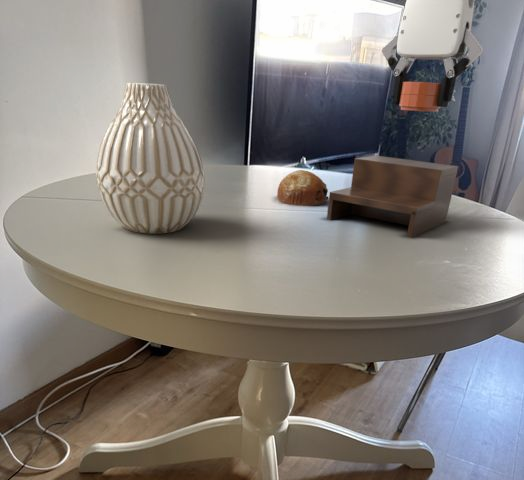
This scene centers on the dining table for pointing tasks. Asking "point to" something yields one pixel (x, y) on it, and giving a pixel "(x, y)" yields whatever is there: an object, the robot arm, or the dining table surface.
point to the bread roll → (302, 189)
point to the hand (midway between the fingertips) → (420, 104)
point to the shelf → (397, 192)
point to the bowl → (420, 96)
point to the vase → (149, 164)
